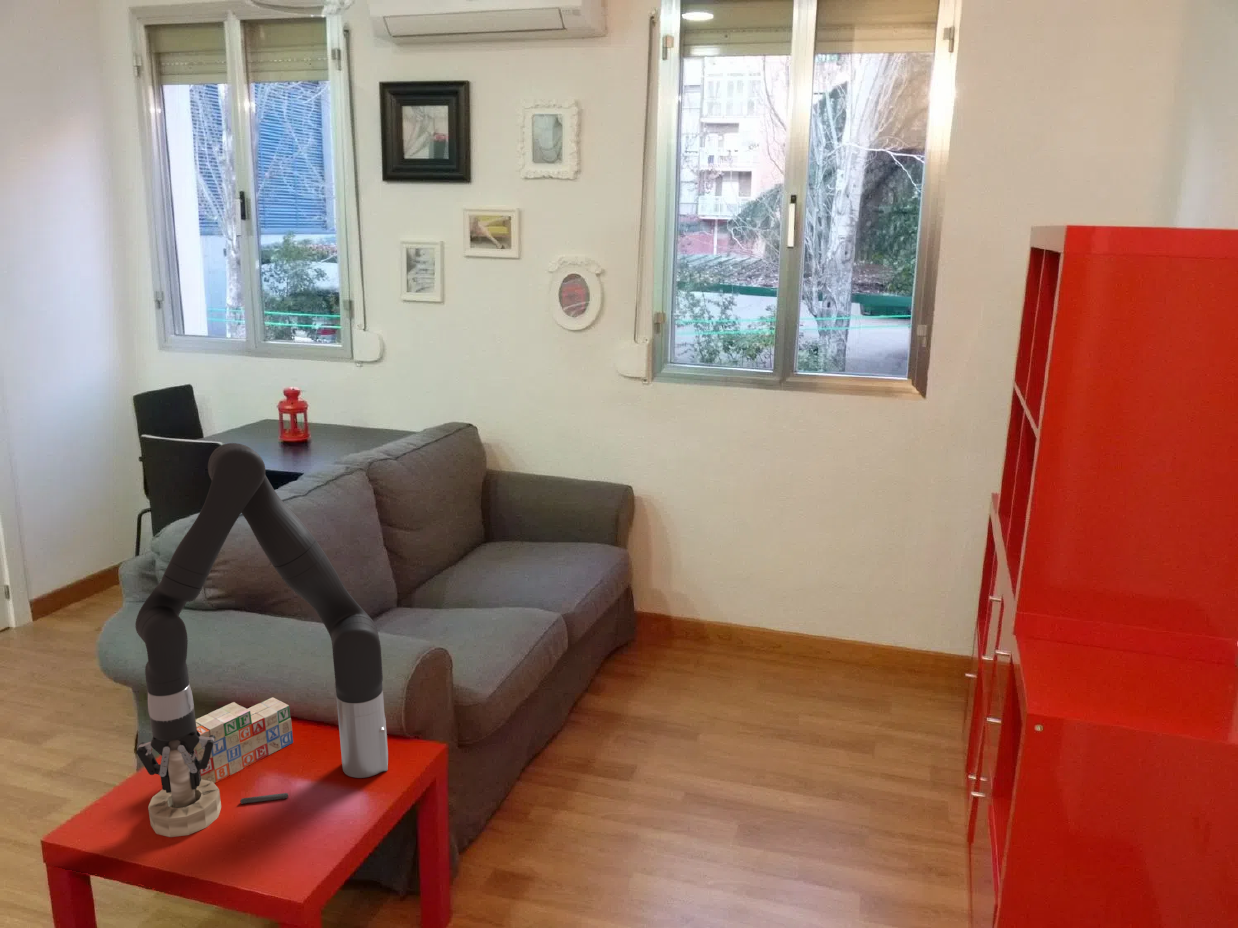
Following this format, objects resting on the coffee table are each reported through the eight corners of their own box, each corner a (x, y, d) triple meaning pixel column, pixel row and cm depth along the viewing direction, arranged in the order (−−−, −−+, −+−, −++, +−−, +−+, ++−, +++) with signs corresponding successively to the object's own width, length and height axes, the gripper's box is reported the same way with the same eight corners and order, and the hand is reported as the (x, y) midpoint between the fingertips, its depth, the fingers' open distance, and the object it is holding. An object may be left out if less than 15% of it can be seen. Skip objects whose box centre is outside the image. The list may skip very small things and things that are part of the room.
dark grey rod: (288, 795, 186) (288, 791, 186) (288, 798, 185) (287, 794, 185) (241, 801, 185) (240, 797, 184) (240, 804, 184) (239, 800, 183)
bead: (225, 793, 187) (223, 775, 186) (213, 831, 176) (211, 813, 175) (160, 801, 185) (158, 783, 183) (144, 840, 173) (141, 821, 172)
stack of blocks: (277, 733, 208) (272, 684, 205) (294, 743, 205) (288, 692, 201) (185, 778, 192) (177, 725, 189) (201, 790, 188) (194, 736, 185)
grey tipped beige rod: (198, 797, 182) (188, 727, 178) (193, 810, 178) (184, 739, 174) (176, 800, 181) (166, 729, 177) (171, 813, 177) (161, 741, 173)
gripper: (216, 694, 179) (225, 772, 184) (135, 702, 176) (147, 781, 181) (208, 714, 172) (218, 795, 177) (124, 723, 169) (136, 805, 174)
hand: (182, 788), depth 179 cm, fingers closed on grey tipped beige rod, 4 cm apart
